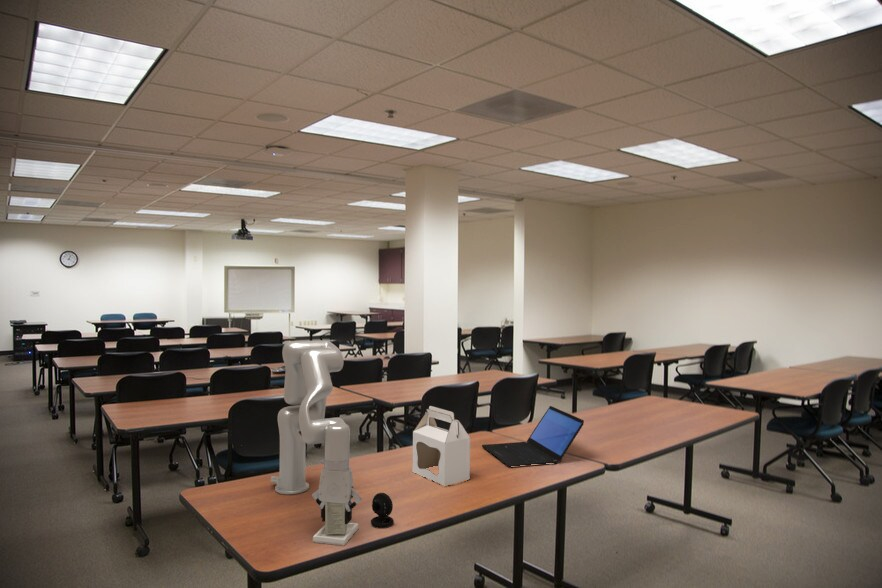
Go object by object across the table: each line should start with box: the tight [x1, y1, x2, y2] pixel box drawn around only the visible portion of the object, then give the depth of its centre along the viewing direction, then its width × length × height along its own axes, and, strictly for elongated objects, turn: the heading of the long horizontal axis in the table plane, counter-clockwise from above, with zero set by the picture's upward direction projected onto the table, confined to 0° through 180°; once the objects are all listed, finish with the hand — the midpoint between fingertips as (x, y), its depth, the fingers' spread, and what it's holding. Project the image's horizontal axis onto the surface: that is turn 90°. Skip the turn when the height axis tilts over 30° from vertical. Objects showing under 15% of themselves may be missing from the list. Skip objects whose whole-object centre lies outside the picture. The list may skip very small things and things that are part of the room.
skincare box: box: [324, 495, 347, 534], centre depth 172 cm, size 6×4×12 cm
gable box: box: [412, 405, 471, 486], centre depth 229 cm, size 22×13×28 cm, turn 38°
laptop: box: [481, 405, 585, 468], centre depth 262 cm, size 33×38×19 cm
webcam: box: [370, 492, 395, 529], centre depth 182 cm, size 8×8×10 cm
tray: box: [312, 522, 359, 547], centre depth 172 cm, size 10×12×2 cm
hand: (336, 520), depth 172 cm, fingers closed on skincare box, 6 cm apart
